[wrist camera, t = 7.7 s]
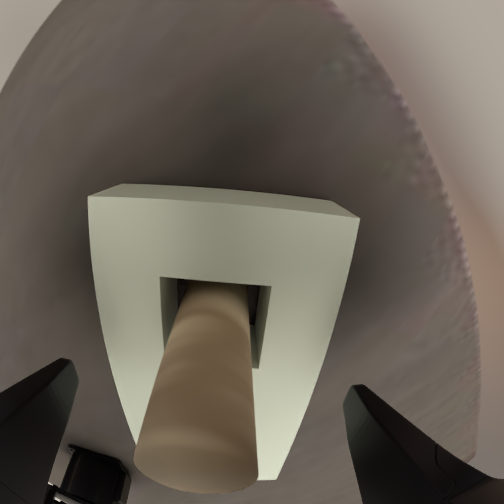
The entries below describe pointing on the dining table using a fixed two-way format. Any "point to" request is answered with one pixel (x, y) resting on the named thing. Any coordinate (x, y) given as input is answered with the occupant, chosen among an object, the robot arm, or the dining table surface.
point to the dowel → (203, 397)
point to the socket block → (229, 271)
